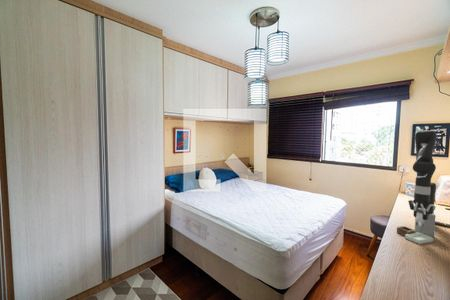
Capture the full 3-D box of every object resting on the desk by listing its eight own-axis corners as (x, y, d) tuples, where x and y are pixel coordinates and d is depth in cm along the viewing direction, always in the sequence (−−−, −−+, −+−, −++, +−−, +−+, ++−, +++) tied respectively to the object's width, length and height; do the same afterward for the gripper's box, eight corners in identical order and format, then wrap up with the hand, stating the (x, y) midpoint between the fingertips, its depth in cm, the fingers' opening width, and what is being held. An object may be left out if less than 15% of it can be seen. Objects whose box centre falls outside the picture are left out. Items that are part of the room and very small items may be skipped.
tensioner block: (403, 231, 146) (404, 226, 146) (415, 236, 139) (415, 230, 139) (396, 232, 144) (397, 227, 144) (407, 237, 138) (408, 231, 137)
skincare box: (428, 233, 144) (430, 211, 143) (435, 238, 137) (436, 215, 136) (413, 231, 146) (415, 209, 146) (419, 235, 140) (420, 213, 139)
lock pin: (418, 223, 136) (419, 209, 136) (426, 226, 132) (427, 211, 131) (412, 224, 135) (413, 209, 135) (421, 227, 131) (422, 212, 130)
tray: (418, 235, 140) (418, 232, 140) (433, 241, 132) (433, 237, 132) (404, 238, 136) (405, 234, 136) (419, 244, 128) (419, 240, 128)
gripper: (440, 195, 126) (438, 222, 127) (413, 189, 140) (411, 214, 141) (431, 196, 124) (429, 223, 125) (405, 190, 138) (404, 215, 139)
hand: (420, 218), depth 133 cm, fingers closed on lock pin, 4 cm apart
